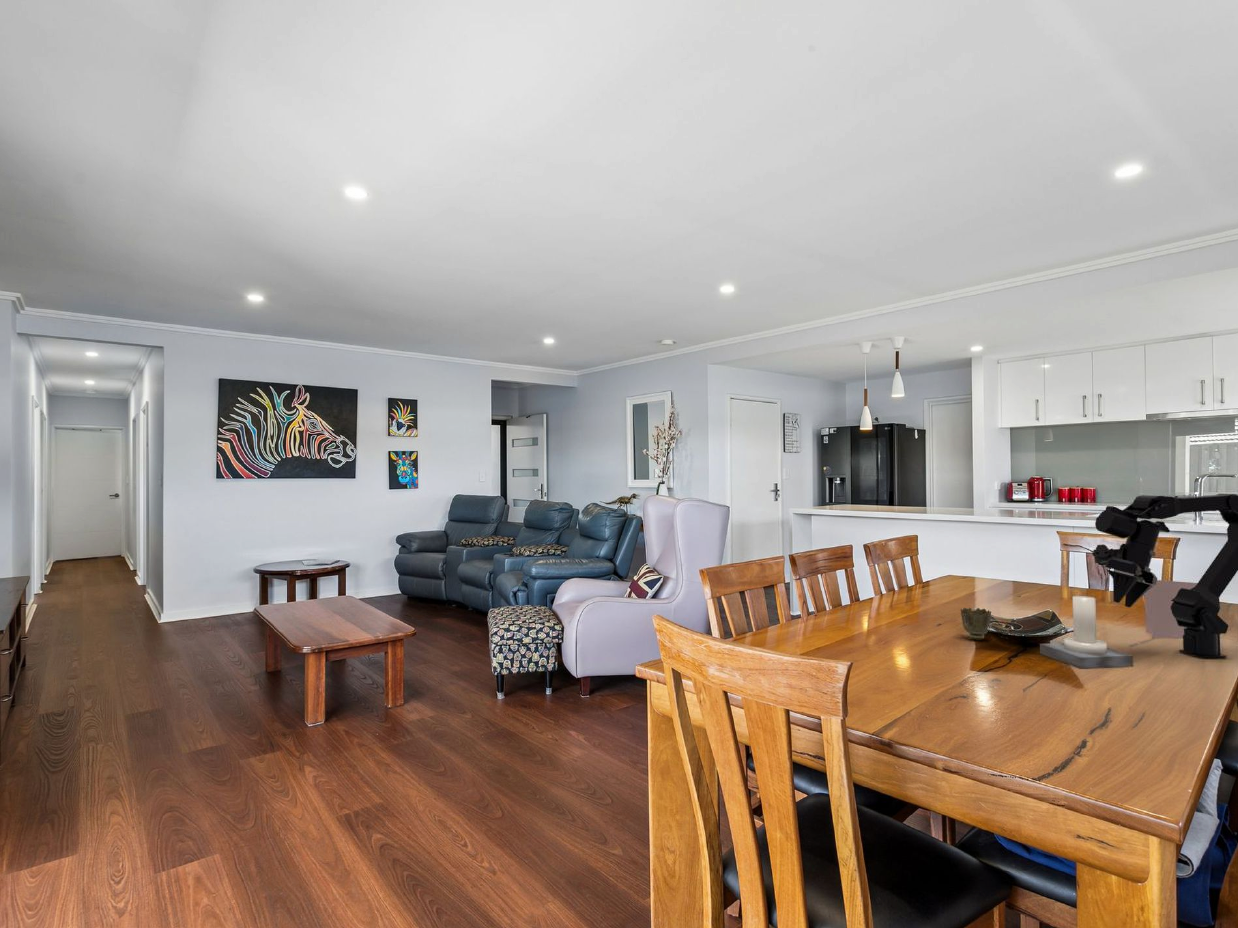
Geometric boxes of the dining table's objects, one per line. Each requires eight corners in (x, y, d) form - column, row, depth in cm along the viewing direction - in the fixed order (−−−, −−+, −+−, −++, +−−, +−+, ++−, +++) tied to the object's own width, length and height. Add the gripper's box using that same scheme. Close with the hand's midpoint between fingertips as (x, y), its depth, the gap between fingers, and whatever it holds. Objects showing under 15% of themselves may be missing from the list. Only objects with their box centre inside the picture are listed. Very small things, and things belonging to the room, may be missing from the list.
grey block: (1088, 651, 168) (1088, 641, 168) (1133, 666, 155) (1132, 655, 155) (1040, 653, 167) (1040, 643, 167) (1081, 668, 154) (1080, 657, 154)
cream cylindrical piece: (1102, 646, 163) (1100, 595, 163) (1111, 655, 155) (1109, 601, 155) (1061, 643, 166) (1059, 593, 167) (1068, 652, 159) (1066, 599, 159)
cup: (962, 641, 180) (961, 611, 180) (959, 635, 187) (959, 606, 187) (993, 643, 177) (993, 613, 178) (989, 637, 184) (989, 608, 184)
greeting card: (1199, 638, 181) (1198, 582, 181) (1198, 643, 175) (1196, 586, 176) (1146, 631, 189) (1144, 578, 189) (1143, 636, 183) (1141, 581, 184)
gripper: (1113, 542, 177) (1096, 598, 176) (1090, 528, 165) (1072, 588, 165) (1165, 554, 168) (1147, 613, 167) (1144, 540, 156) (1125, 604, 156)
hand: (1121, 604), depth 164 cm, fingers open, 9 cm apart
